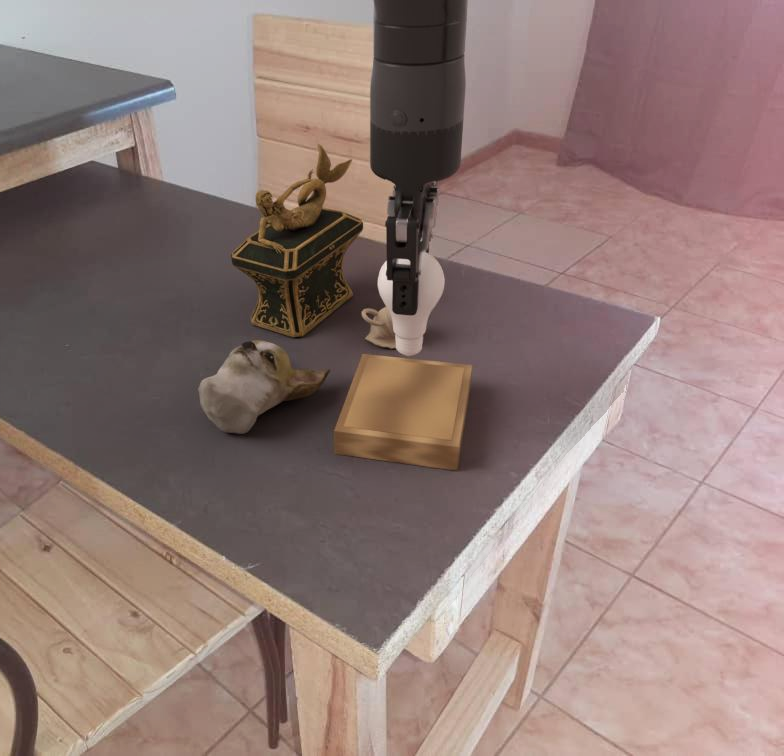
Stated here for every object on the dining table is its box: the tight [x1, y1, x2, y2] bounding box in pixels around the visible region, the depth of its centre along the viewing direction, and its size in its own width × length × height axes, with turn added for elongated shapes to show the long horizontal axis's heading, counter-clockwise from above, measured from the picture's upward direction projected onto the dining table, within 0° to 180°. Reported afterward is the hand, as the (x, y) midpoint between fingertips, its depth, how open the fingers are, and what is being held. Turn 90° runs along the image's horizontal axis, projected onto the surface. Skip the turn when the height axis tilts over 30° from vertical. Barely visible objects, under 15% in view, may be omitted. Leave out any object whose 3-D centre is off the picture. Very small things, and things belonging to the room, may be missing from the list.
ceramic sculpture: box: [197, 339, 331, 435], centre depth 82 cm, size 11×9×15 cm
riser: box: [333, 353, 473, 471], centre depth 80 cm, size 12×14×3 cm
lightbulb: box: [377, 252, 446, 357], centre depth 73 cm, size 6×6×11 cm
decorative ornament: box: [361, 306, 396, 350], centre depth 92 cm, size 4×8×5 cm, turn 108°
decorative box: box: [230, 143, 364, 338], centre depth 97 cm, size 20×10×20 cm, turn 144°
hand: (410, 294), depth 72 cm, fingers closed on lightbulb, 6 cm apart
